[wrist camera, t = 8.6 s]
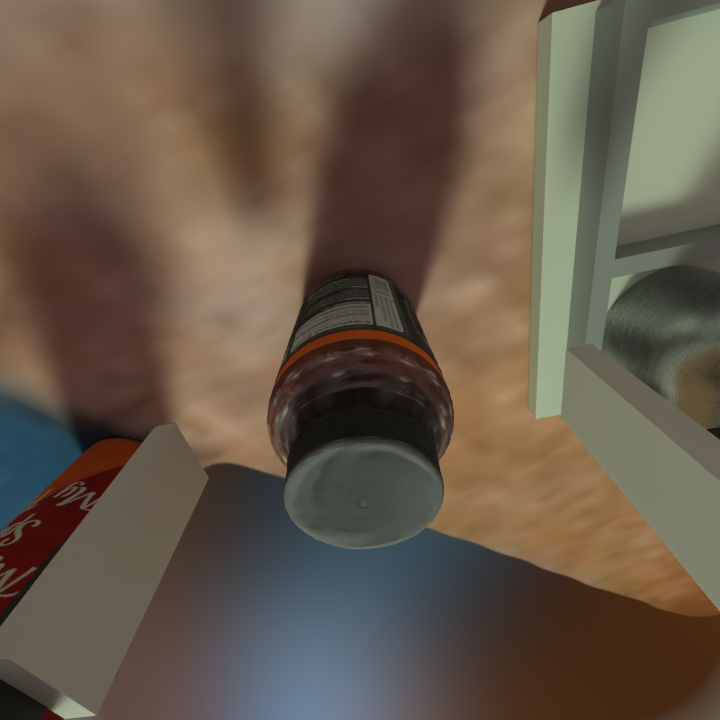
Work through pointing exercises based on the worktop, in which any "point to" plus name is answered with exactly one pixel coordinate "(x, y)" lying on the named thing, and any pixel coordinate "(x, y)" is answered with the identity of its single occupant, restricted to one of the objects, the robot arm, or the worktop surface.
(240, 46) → the worktop surface
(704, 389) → the cylinder
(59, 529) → the paper cup
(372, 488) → the supplement bottle
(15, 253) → the worktop surface
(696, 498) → the robot arm
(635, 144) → the pale green compartment tray
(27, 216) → the worktop surface
